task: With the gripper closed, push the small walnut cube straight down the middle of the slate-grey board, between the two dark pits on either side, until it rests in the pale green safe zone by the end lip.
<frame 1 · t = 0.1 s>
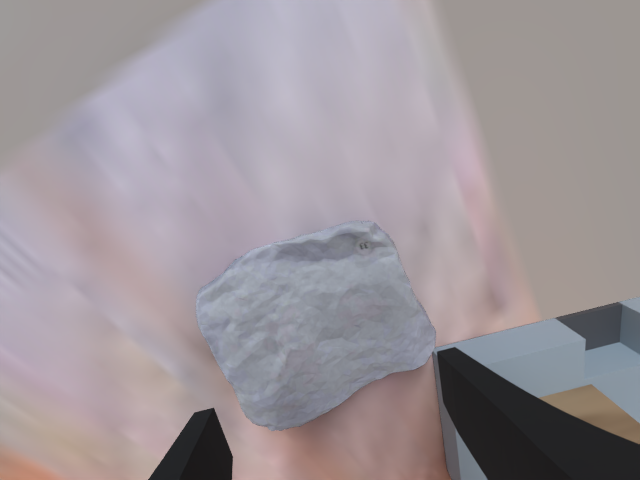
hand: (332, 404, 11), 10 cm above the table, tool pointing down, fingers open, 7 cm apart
stone block: (310, 298, 22), on the table
walnut cube: (561, 416, 23), point 2 cm above the table, touching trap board
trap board: (587, 375, 25), on the table
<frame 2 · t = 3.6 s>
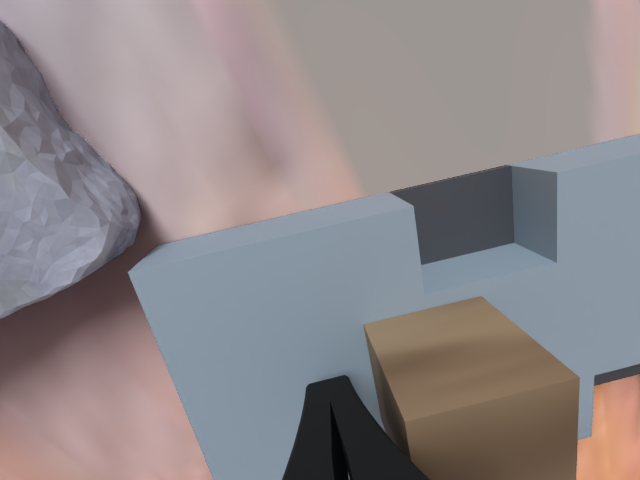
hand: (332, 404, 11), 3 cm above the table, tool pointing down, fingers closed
walnut cube: (429, 360, 12), point 3 cm above the table, touching gripper, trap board
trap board: (465, 307, 15), on the table
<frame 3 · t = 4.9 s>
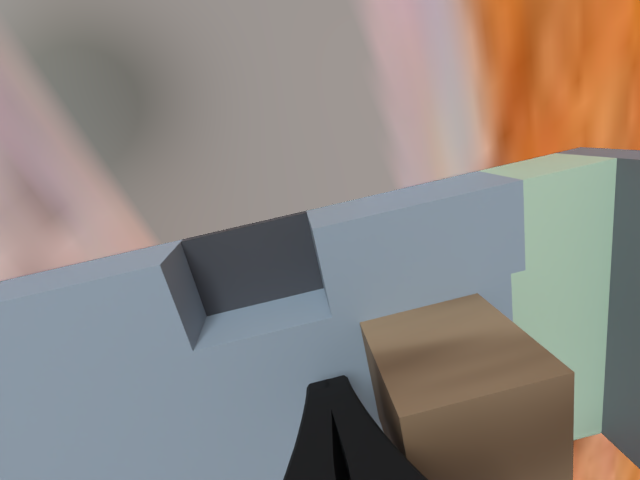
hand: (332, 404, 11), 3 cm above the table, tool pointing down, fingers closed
walnut cube: (426, 358, 12), point 3 cm above the table, touching gripper
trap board: (287, 351, 14), on the table
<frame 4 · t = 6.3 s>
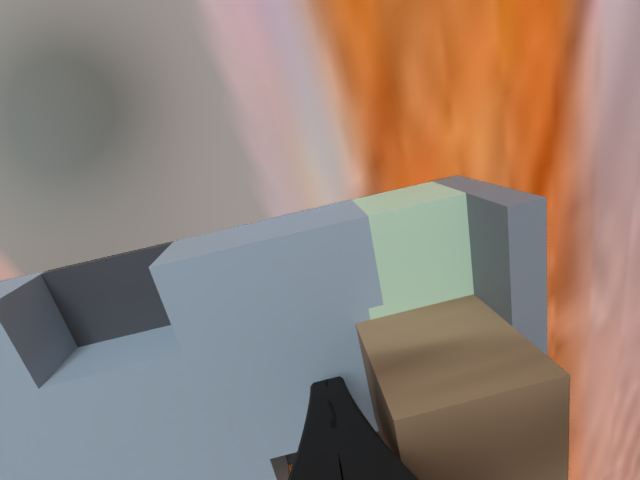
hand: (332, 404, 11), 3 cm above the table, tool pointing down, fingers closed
walnut cube: (422, 359, 12), point 3 cm above the table, touching gripper, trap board
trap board: (170, 380, 14), on the table
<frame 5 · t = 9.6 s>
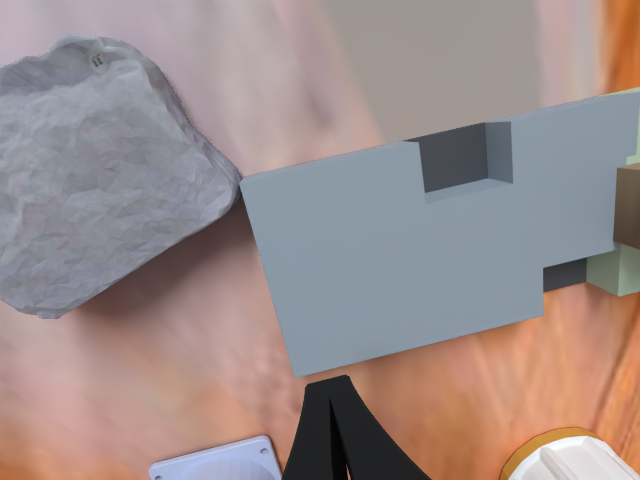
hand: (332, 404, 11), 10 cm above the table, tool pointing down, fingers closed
stone block: (101, 170, 18), on the table
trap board: (455, 227, 20), on the table
cup: (550, 470, 28), on the table
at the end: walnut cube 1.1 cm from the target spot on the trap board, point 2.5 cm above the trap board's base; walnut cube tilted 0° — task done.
